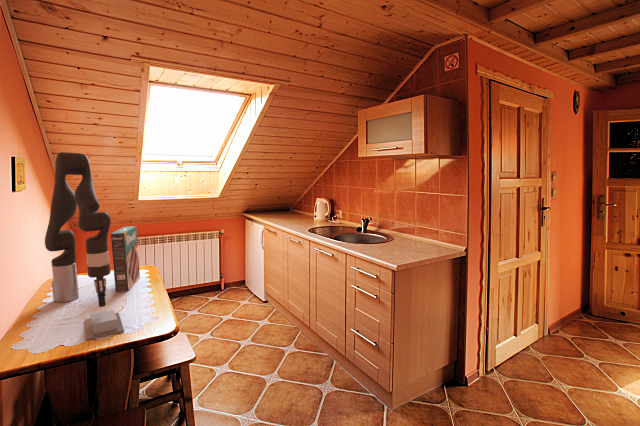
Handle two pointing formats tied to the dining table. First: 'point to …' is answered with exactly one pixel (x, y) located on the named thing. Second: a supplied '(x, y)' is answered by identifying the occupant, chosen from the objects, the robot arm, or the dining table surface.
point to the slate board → (90, 332)
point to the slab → (104, 321)
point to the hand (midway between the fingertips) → (102, 305)
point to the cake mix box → (125, 258)
